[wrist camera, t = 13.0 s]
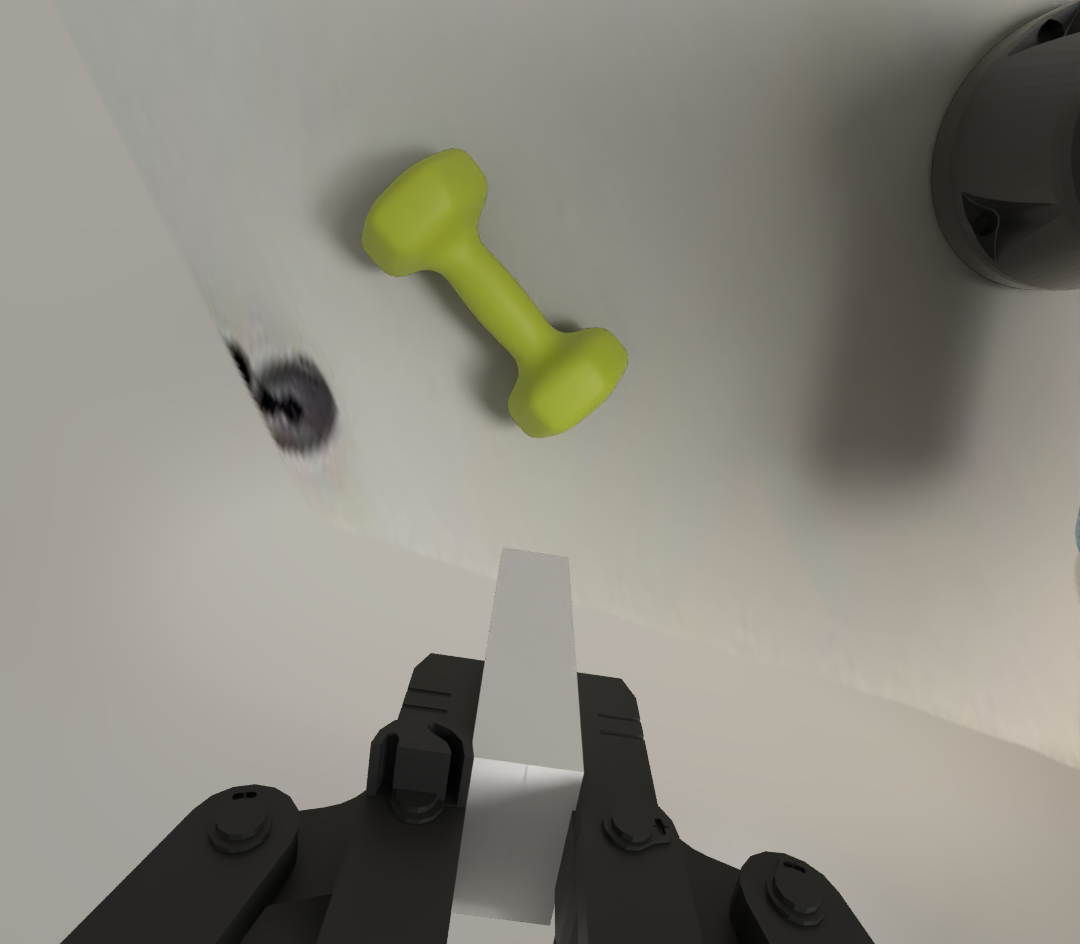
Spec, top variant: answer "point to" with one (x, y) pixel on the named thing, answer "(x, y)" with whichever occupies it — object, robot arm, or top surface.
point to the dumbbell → (490, 291)
